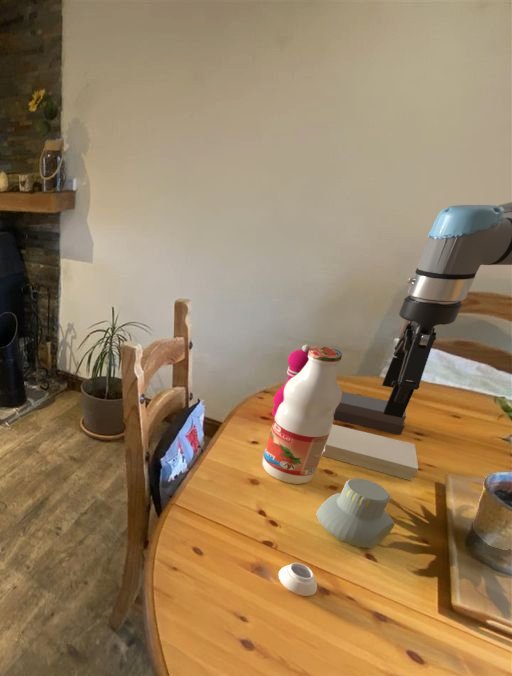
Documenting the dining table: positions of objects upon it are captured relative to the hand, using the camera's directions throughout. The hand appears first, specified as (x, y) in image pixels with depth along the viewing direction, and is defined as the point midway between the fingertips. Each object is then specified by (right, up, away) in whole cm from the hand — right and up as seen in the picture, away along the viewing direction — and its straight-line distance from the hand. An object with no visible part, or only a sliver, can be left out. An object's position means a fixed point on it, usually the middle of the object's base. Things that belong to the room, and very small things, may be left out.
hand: (391, 400), depth 85 cm
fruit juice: (-18, -16, +5) cm, 24 cm away
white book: (0, -11, +6) cm, 12 cm away
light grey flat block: (+1, -13, +7) cm, 15 cm away
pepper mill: (-6, -5, +23) cm, 24 cm away
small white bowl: (-33, -29, -19) cm, 47 cm away
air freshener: (-18, -23, -10) cm, 31 cm away
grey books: (+12, -6, +19) cm, 23 cm away
